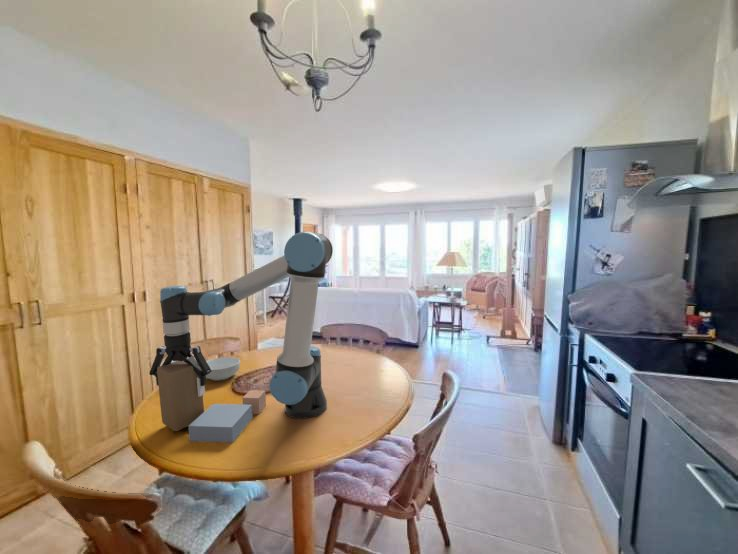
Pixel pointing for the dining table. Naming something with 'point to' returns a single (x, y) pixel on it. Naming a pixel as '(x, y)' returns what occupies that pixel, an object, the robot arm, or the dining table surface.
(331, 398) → the dining table surface
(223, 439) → the plinth
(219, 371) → the cereal bowl
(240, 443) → the dining table surface
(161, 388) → the wooden block
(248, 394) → the terracotta cube
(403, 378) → the dining table surface
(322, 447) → the dining table surface
